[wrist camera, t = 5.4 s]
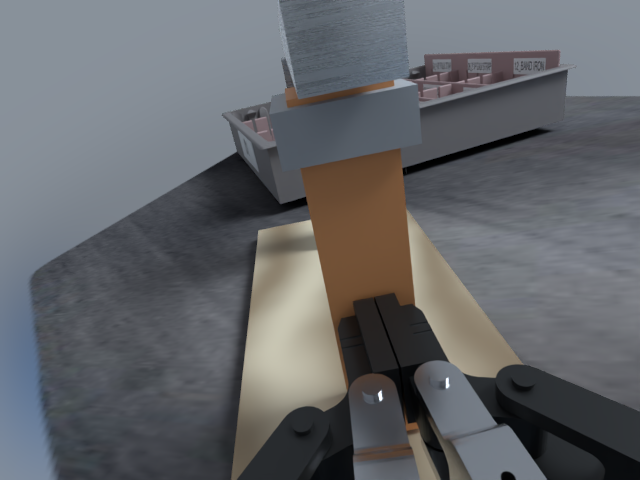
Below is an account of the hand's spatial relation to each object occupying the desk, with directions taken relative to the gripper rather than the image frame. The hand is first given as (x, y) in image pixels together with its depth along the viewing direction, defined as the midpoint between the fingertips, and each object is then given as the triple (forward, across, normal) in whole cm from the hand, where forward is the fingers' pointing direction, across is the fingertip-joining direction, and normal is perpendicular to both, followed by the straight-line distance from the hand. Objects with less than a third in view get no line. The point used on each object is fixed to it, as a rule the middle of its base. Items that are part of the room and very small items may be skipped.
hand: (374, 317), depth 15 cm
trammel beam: (+11, 0, +7) cm, 13 cm away
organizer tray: (+50, -10, +8) cm, 51 cm away
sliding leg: (+2, 0, +6) cm, 6 cm away
